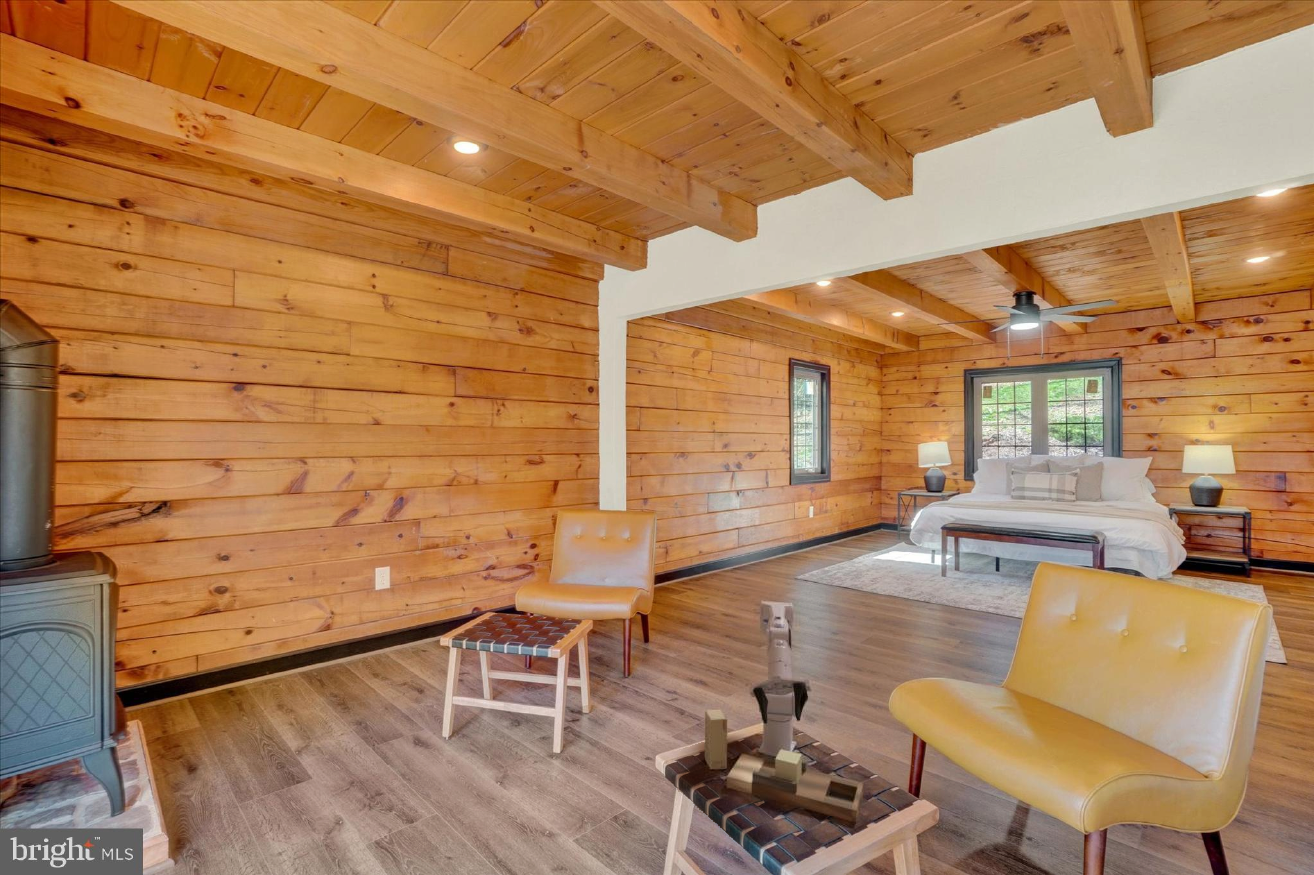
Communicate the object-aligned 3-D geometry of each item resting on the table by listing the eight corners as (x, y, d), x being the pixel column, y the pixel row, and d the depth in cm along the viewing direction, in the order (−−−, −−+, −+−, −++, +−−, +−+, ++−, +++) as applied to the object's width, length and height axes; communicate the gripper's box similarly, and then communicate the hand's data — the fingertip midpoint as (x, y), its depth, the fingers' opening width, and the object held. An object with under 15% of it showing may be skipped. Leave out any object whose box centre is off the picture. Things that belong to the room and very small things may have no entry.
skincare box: (727, 769, 150) (728, 719, 150) (710, 770, 149) (711, 720, 149) (720, 756, 156) (721, 708, 156) (704, 757, 156) (704, 709, 156)
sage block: (780, 770, 145) (780, 749, 145) (801, 775, 143) (801, 754, 143) (774, 780, 141) (775, 758, 141) (796, 786, 139) (797, 764, 139)
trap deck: (742, 763, 153) (742, 745, 153) (863, 793, 140) (863, 774, 141) (726, 787, 142) (726, 767, 142) (856, 822, 130) (856, 801, 130)
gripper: (746, 661, 151) (745, 711, 139) (805, 655, 146) (808, 705, 135) (754, 680, 154) (753, 730, 143) (812, 673, 150) (815, 725, 138)
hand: (780, 719), depth 139 cm, fingers open, 7 cm apart
